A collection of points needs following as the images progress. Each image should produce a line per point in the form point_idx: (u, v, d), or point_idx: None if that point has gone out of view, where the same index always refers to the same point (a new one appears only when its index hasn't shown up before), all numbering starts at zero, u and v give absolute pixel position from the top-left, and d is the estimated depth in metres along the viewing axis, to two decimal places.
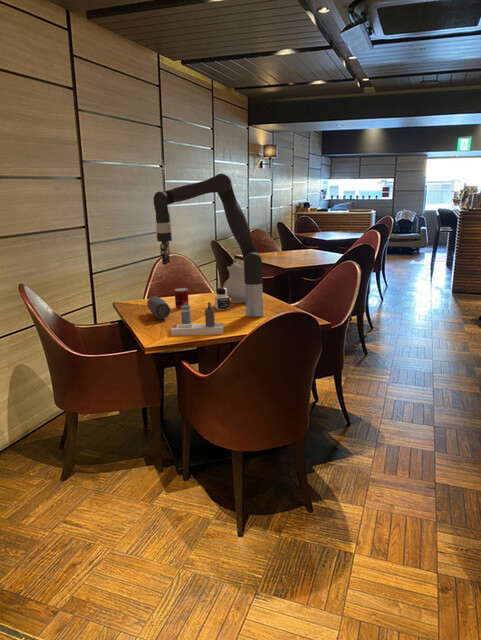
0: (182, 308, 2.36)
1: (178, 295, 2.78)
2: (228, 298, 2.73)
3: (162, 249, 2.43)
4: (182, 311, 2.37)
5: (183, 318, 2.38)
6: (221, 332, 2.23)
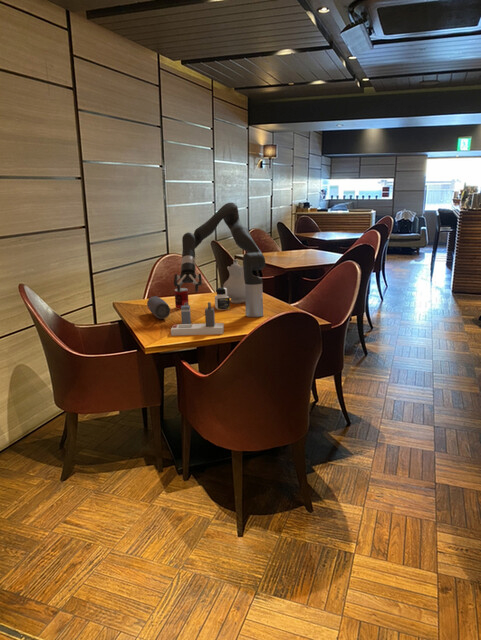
0: (182, 308, 2.36)
1: (178, 295, 2.78)
2: (228, 298, 2.73)
3: None
4: (182, 311, 2.37)
5: (183, 318, 2.38)
6: (221, 332, 2.23)
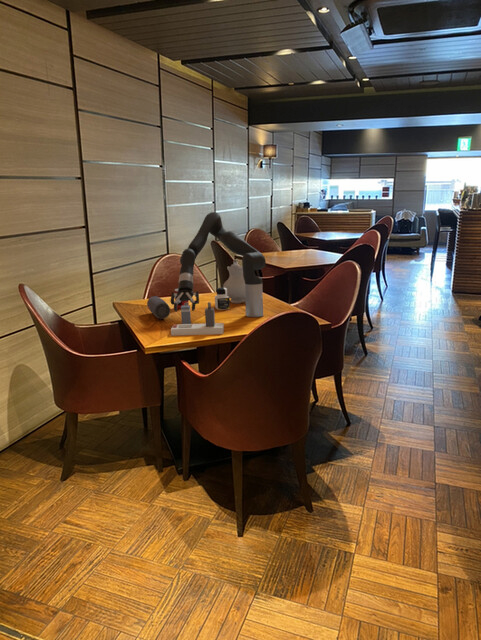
0: (182, 308, 2.36)
1: None
2: (228, 298, 2.73)
3: (198, 296, 2.46)
4: (182, 311, 2.37)
5: (183, 318, 2.38)
6: (221, 332, 2.23)
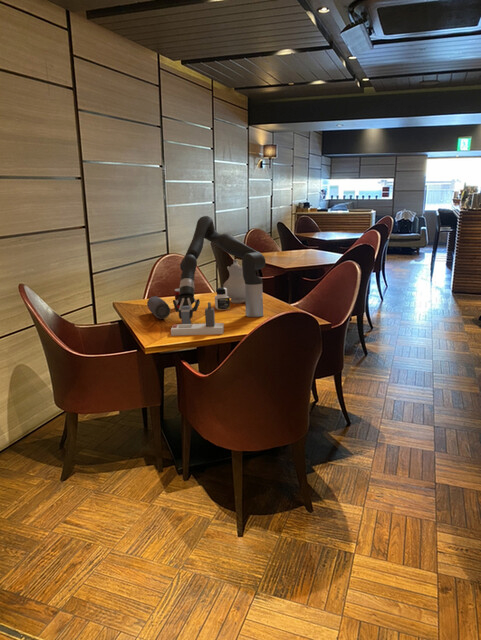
0: (182, 308, 2.36)
1: (178, 295, 2.78)
2: (228, 298, 2.73)
3: (198, 304, 2.41)
4: (182, 311, 2.37)
5: (183, 318, 2.38)
6: (221, 332, 2.23)
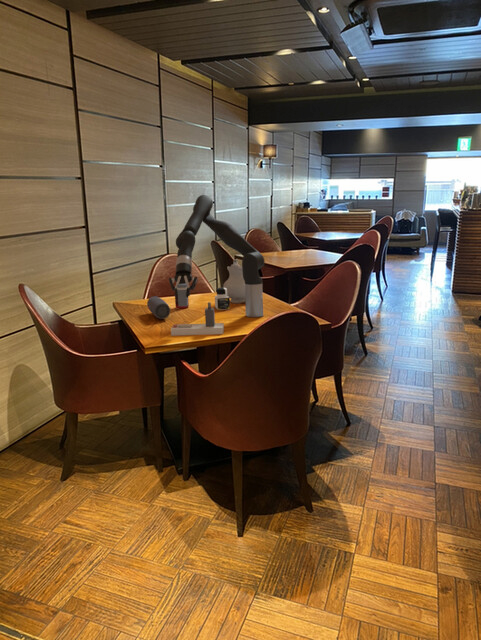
0: (178, 286, 2.21)
1: None
2: (228, 298, 2.73)
3: (195, 282, 2.25)
4: (178, 289, 2.21)
5: (179, 297, 2.22)
6: (221, 332, 2.23)
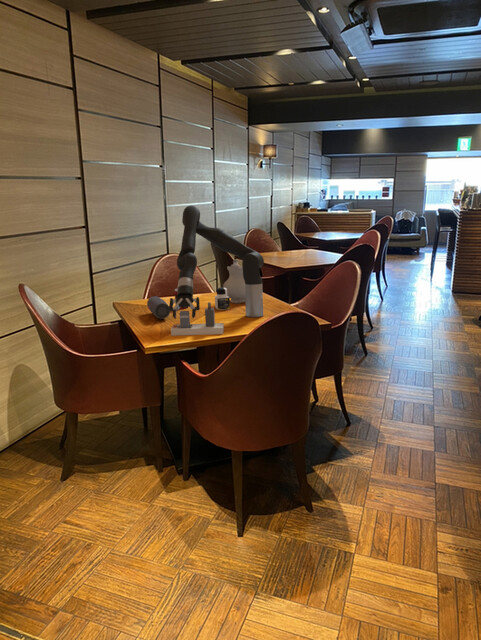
0: (181, 314, 2.24)
1: None
2: (228, 298, 2.73)
3: (199, 302, 2.28)
4: (181, 317, 2.24)
5: (182, 324, 2.25)
6: (221, 332, 2.23)
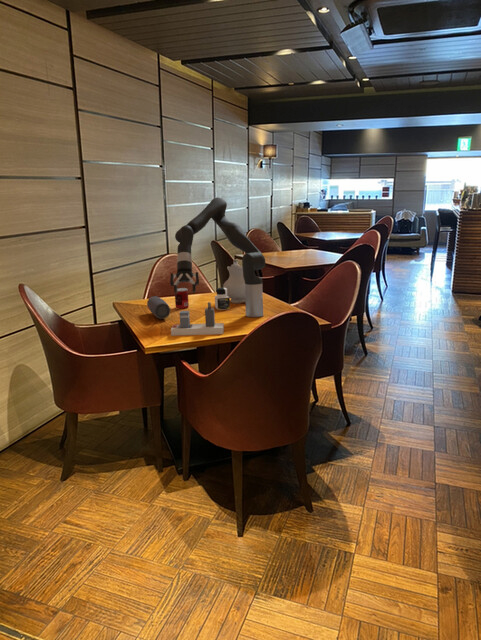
0: (181, 314, 2.24)
1: (178, 295, 2.78)
2: (228, 298, 2.73)
3: (198, 277, 2.42)
4: (181, 317, 2.24)
5: (182, 324, 2.25)
6: (221, 332, 2.23)
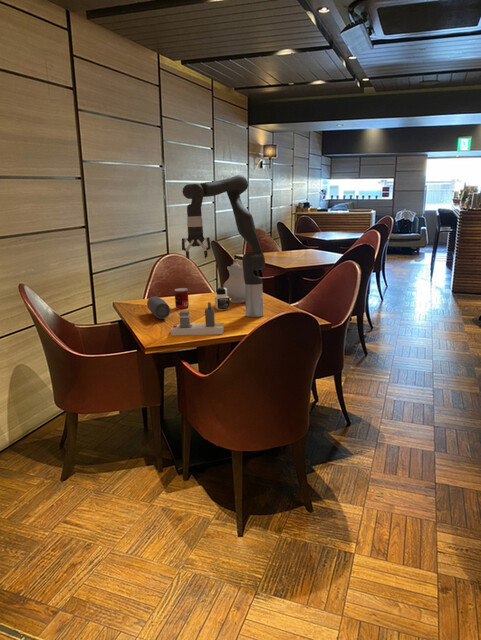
0: (181, 314, 2.24)
1: (178, 295, 2.78)
2: (228, 298, 2.73)
3: (209, 242, 2.40)
4: (181, 317, 2.24)
5: (182, 324, 2.25)
6: (221, 332, 2.23)
